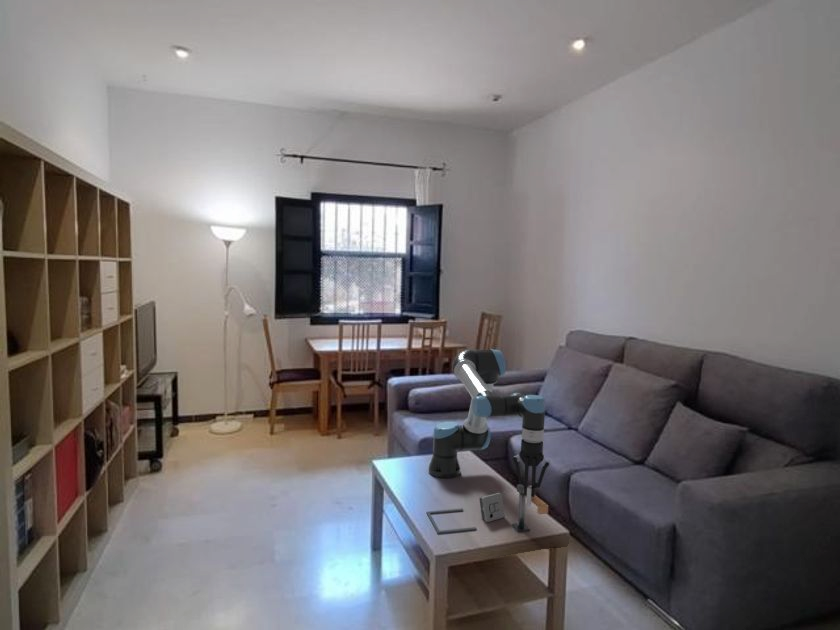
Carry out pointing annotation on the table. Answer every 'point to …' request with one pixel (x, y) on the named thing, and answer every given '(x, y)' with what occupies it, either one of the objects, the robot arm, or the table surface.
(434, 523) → the bay
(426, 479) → the table surface
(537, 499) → the lever
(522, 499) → the mast
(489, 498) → the electrical switch
